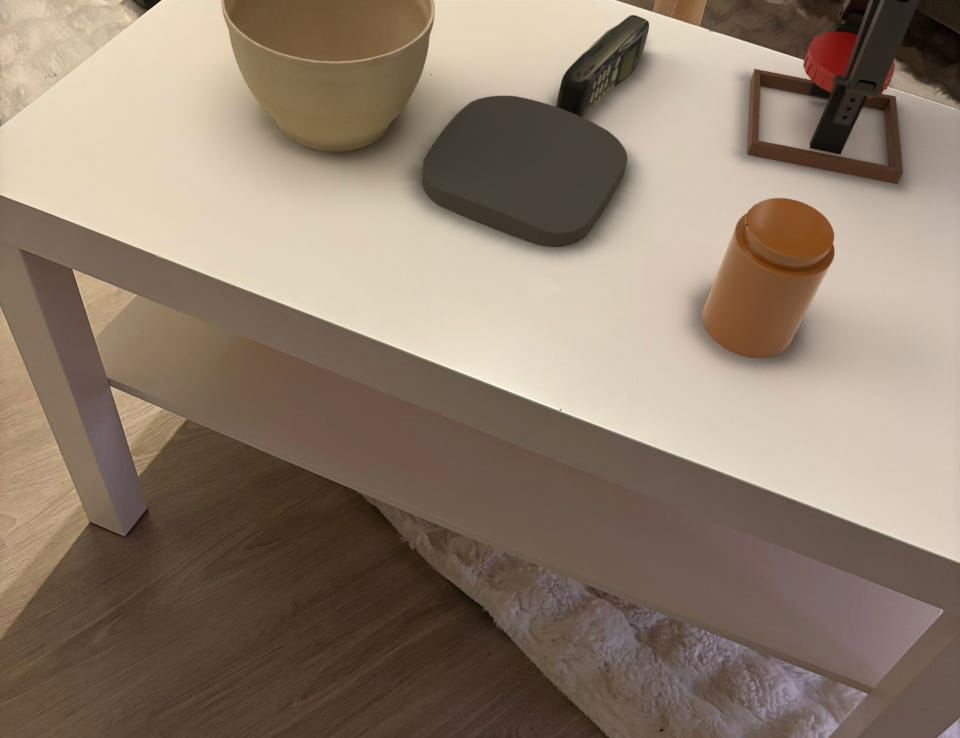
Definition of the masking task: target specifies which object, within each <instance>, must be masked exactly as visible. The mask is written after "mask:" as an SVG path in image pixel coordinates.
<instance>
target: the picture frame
mask: <svg viewBox="0 0 960 738" xmlns="http://www.w3.org/2000/svg"><path fill="white" fill-rule="evenodd" d="M812 82H813V81H812V80H811V79H810V78H805V77H804V78H803V77H799V76H793V75H789V74H783V73H779V72H772V71H769V70H764V69H763V70H762V69H758V68H754V70H753V72H752V75H751V78H750V80H749V102H748V126H747V127H748V128H747V147H746V149H747V150H746V155H747V156H752V157H757V158H762V159H766V160H772V161H775V162H782V163H787V164H791V165H796V166H797V165H798V166H802V167H807V168H813V169H816V170H817V169H818V170H822V171H828V172H833V173H838V174H843V175H849V176H853V177H858V178H864V179H868V180H874V181H878V182H883V183H887V184H888V183H889V184H893V185H894V184H895V185H898V183H899V181H900V180H901V177H902V176H903V174H904V169H903V159H902V149H901V147H902V146H901V138H900V137H901V136H900V125H899V116H898V114H899V113H898V106H897V105H898V104H897V96H896V95H891V94H885V93H882V94H879V95H878V96H877V97H872V98H867V99H866V101H865V103H864V105H863V107H867V108H872V109H876V110H882V111H884V123H885V134H886V135H885V136H886V147H887V159H888V165H886V164H882V163H881V164H880V163H876V162H870V161H866V160H862V159H861V160H860V159H855V158H850V157H846V156H841V155H840V156H839V155H836V154H835V155H834V154H831V153H830V154H829V153H825V152H821V151H820V152H819V151H816V150H815V151H814V150H809V149H804V148H800V147H794V146H789V145H783V144H779V143H773V142H769V141H763V140H759V137H760V136H759V133H760V104H761V103H760V102H761V87H763V88H769V89H774V90H778V91H784V92H790V93H795V94H800V95H803V96H804V95H805V96H808V97H809V96H810V97H816V98H818V97H817V96H812V95H809V89H810V86H811V84H812ZM819 98H820V99H823V98H822V97H819ZM824 99H825V100H828V99H827V98H824Z"/></svg>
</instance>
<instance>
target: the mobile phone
mask: <svg viewBox="0 0 960 738" xmlns="http://www.w3.org/2000/svg"><path fill="white" fill-rule="evenodd" d="M649 31H650V22H649V21H648V20H647V19H646V18H644V17H641V16H639V15H635V14H630V15H629V16H626V18H625V19H623V20H622V21H621V22H620V23H618V24H616V25H615V26H614V27H612V28H610V29H608V30H606V31H605V33H603V35H601V36H600V37H599V38H598V39H597V40H596V41H594V42H593V43H592V44H591V46H590V47H589V48H588V49H587V50H586V51H585V52H583V53H582V54H581V55H580V56H579V57H578V58H577V59H576V60H575V61H574V62H573V63H572V64H571V65H570V67H569V68H568V69H567V70H566V71H565V73H564V74H563V76H562V78H561V82H560V86H559V89H558V90H559V91H558V94H557V100H556V104H555V105H556V106H555V107H558V108H561V109H563V110H566V111H568V112H571V113H573V114H576V115H578V116H580V117H582V118H584V119H585V117H586V116H587V115H588V114H589V113H590V112H591V111H592V110H593V109H594V108H595V107H596V106H597V105H598V104H599V103H600V102H601V101H602V100H603V98H604V97H605V96H607V94H609V93H610V92H611V91H612V90H613V89H614V88H615V87H617V86H618V85H620V84H621V83H622V82H623V81H625V80H626V79H628V78H629V77H630V76H631V75H632V74H633V73H634V71H635V70H636V68H637V67H638V64H639V63H640V61H641V59H642V56H643V52H644V50H645V46H646V42H647V38H648V36H649V35H648V34H649Z"/></svg>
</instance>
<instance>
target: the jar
mask: <svg viewBox="0 0 960 738" xmlns="http://www.w3.org/2000/svg"><path fill="white" fill-rule="evenodd" d="M834 241H835V231H834V229H833V226H832V224H831V223H830V220H829V219H827V217H826V216H825V215H824V214H823V213H821V211H819V210H818V209H817V208H814V207H813V206H811V205H809V204H808V203H805V202H802V201H800V200H796V199H791V198H786V197H773V198H772V197H771V198H767V199H763V200H761V201H759V202H757V203H755V204H754V205H752V207H751V208H749V209H748V211H747V212H746V213H745V214H743V215H742V216H741V217H740V218H739V220H738V221H737V223H736V225H735V228H734V230H733V232H732V235H731V237H730V240H729V242H728V245H727V248H726V249H725V253H724V255H723V257H722V260H721V263H720V265H719V268H718V271H717V273H716V276H715V278H714V281H713V283H712V286H711V288H710V290H709V293H708V295H707V298H706V301H705V304H704V306H703V309H702V314H701V316H702V317H701V318H702V323H703V326H704V328H705V330H706V332H707V333H708V335H709V336H710V337H711V338H712V340H714V342H716V343H717V344H718V345H719V346H720V347H722V348H723V349H724V350H727V351H728V352H731V353H733V354H736V355H738V356H742V357H746V358H752V359H765V358H771V357H774V356H776V355H779V354H781V353H783V352H784V351H785V350H786V349H787V348H788V347H789V346H790V345H791V343H792V341H793V340H794V337H795V335H796V333H797V331H798V329H799V327H800V325H801V323H802V321H803V319H804V317H805V316H806V314H807V312H808V310H809V308H810V306H811V304H812V302H813V300H814V299H815V296H816V295H817V292H818V290H819V288H820V286H821V284H822V283H823V281H824V278H825V276H827V273H828V271H829V269H830V267H831V265H832V263H833V261H834V259H835V251H836V250H835V244H834Z"/></svg>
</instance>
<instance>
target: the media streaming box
mask: <svg viewBox="0 0 960 738" xmlns="http://www.w3.org/2000/svg"><path fill="white" fill-rule="evenodd" d="M627 162H628V153H627V151H626V148H625V147H624V145H623V144H622V143H621V141H620V140H619V139H618V138H617V137H616V136H615V135H614V134H613V133H611V132H610V131H609V130H607V129H606V128H604V127H602V126H600V125H598V124H597V123H594V122H593V121H590V120H589V119H587V118H585V117H584V118H582V117H580V116H578V115H576V114H573V113H571V112H568V111H566V110H563V109H561V108H558V107H556V106H555V105H552V104H548V103H546V102H542V101H538V100H534V99H531V98H526V97H522V96H516V95H492V96H485V97H481V98H478V99H477V98H476V99H475V100H473V101H470V102H469V103H468V104H467V105H465V106H464V107H463V108H462V109H461V110H460V111H459V112H458V113H457V114H456V115H455V116H454V117H453V118H452V119H451V120H450V121H449V122H448V123H447V124H446V126H444V128H443V129H442V131H441V132H440V133H439V135H438V136H437V138H436V139H435V141H434V142H433V144H432V145H431V147H430V148H429V150H428V152H427V154H426V155H425V157H424V159H423V164H422V181H421V182H422V187H423V190H424V192H425V193H426V195H427V196H428V198H429V199H430V200H431V201H432V202H434V203H435V204H436V205H438V206H439V207H441V208H443V209H445V210H448V211H450V212H452V213H455V214H457V215H459V216H461V217H463V218H467V219H469V220H470V221H474V222H476V223H477V224H481V225H483V226H485V227H488V228H490V229H493V230H496V231H498V232H500V233H503V234H506V235H508V236H511V237H514V238H516V239H520V240H522V241H525V242H528V243H531V244H533V245H537V246H540V247H547V248H559V247H566V246H571V245H574V244H576V243H578V242H580V241H581V240H583V239H584V238H586V237H587V235H588V234H589V233H590V231H591V230H592V229H593V227H594V226H595V225H596V223H597V221H598V220H599V219H600V217H601V216H602V214H603V213H604V212H605V210H606V208H607V206H608V205H609V203H610V201H611V200H612V198H613V196H614V195H615V193H616V191H617V190H618V187H619V185H620V184H621V181H622V179H623V178H624V175H625V170H626V167H627Z"/></svg>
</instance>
